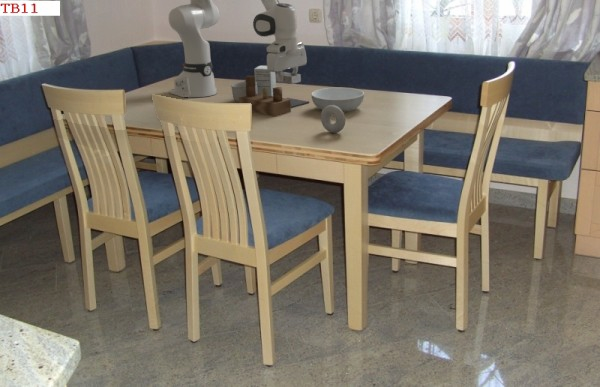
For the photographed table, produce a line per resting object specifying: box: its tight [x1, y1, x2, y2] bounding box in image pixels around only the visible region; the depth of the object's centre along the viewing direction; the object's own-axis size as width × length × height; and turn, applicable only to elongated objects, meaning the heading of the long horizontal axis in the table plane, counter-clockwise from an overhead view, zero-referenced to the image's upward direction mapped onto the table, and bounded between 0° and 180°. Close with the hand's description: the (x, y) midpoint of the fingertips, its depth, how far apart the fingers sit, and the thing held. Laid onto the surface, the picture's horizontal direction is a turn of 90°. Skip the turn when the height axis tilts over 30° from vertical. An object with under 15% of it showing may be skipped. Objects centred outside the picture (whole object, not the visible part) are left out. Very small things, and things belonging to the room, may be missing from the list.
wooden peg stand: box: [238, 74, 292, 117], centre depth 294 cm, size 20×9×13 cm, turn 48°
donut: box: [320, 105, 346, 134], centre depth 261 cm, size 10×4×10 cm, turn 51°
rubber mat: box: [285, 97, 310, 109], centre depth 306 cm, size 12×12×1 cm
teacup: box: [230, 80, 258, 104], centre depth 311 cm, size 14×11×8 cm
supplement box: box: [253, 65, 277, 96], centre depth 318 cm, size 7×7×13 cm
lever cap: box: [275, 71, 302, 85], centre depth 302 cm, size 9×5×4 cm, turn 48°
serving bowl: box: [310, 86, 365, 113], centre depth 293 cm, size 21×21×7 cm
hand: (288, 79), depth 302 cm, fingers closed on lever cap, 5 cm apart
